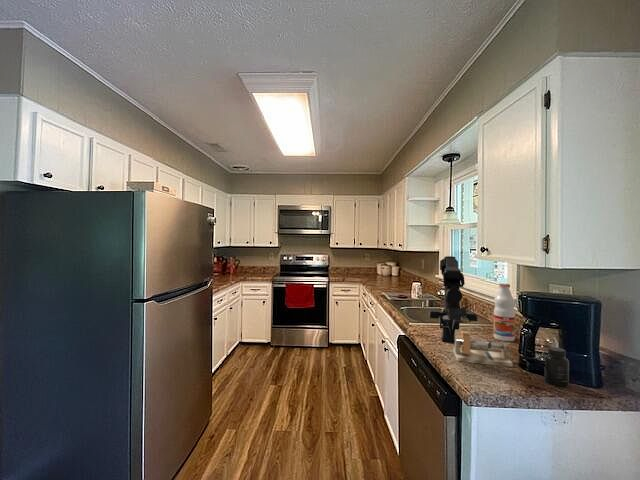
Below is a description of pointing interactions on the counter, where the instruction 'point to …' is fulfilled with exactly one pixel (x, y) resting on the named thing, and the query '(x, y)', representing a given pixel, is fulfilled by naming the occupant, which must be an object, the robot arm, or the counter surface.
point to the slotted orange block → (465, 342)
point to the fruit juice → (504, 314)
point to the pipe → (484, 344)
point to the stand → (483, 356)
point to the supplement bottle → (556, 367)
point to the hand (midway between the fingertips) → (452, 335)
